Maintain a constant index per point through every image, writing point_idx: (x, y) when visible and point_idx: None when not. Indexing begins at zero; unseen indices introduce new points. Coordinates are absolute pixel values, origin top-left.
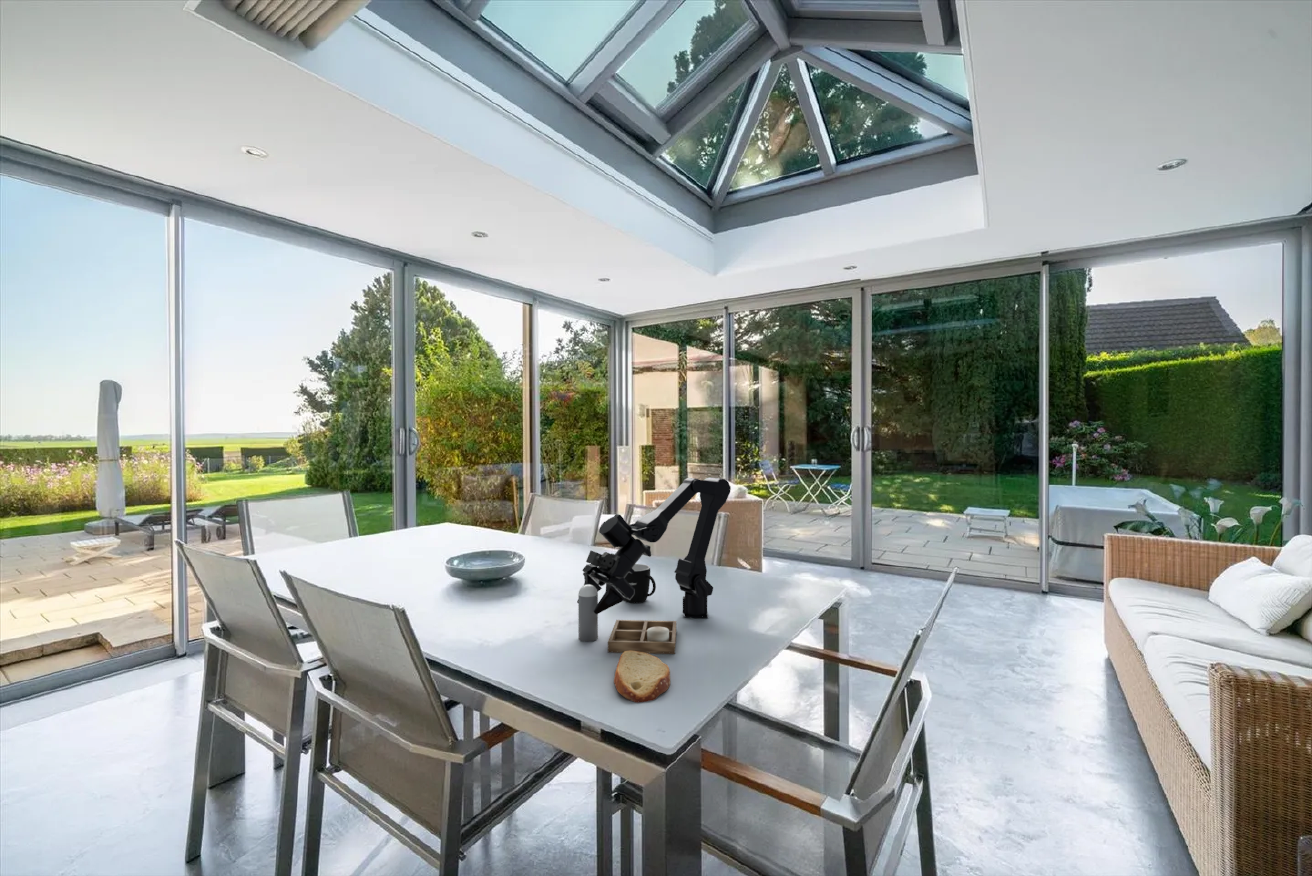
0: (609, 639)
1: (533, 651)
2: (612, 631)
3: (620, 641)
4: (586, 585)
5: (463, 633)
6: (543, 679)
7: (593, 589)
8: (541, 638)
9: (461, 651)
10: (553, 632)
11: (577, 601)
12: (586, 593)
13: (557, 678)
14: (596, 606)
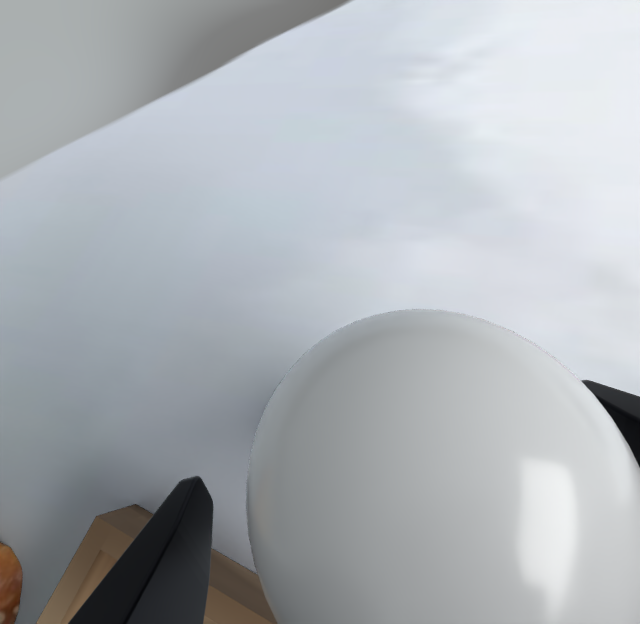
0: (124, 540)
1: (294, 198)
2: (254, 619)
3: (53, 608)
4: (422, 442)
5: (554, 10)
6: (44, 210)
7: (290, 613)
8: (435, 236)
9: (376, 21)
10: (509, 294)
11: (585, 382)
12: (266, 409)
13: (23, 249)
14: (169, 524)
